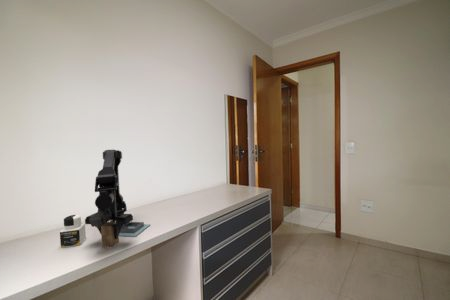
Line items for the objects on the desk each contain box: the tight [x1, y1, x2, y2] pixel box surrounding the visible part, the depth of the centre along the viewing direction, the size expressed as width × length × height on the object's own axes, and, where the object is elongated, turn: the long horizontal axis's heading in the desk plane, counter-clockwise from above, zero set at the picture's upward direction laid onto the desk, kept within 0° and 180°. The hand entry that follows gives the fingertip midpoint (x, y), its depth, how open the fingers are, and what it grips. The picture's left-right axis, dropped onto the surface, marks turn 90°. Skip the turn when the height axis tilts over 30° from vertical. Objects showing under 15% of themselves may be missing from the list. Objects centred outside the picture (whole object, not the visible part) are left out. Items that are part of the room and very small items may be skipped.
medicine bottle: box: [59, 214, 87, 249], centre depth 91 cm, size 7×7×12 cm
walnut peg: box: [100, 221, 120, 248], centre depth 88 cm, size 4×4×9 cm
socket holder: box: [119, 221, 151, 238], centre depth 102 cm, size 13×13×3 cm
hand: (110, 238), depth 88 cm, fingers open, 5 cm apart
